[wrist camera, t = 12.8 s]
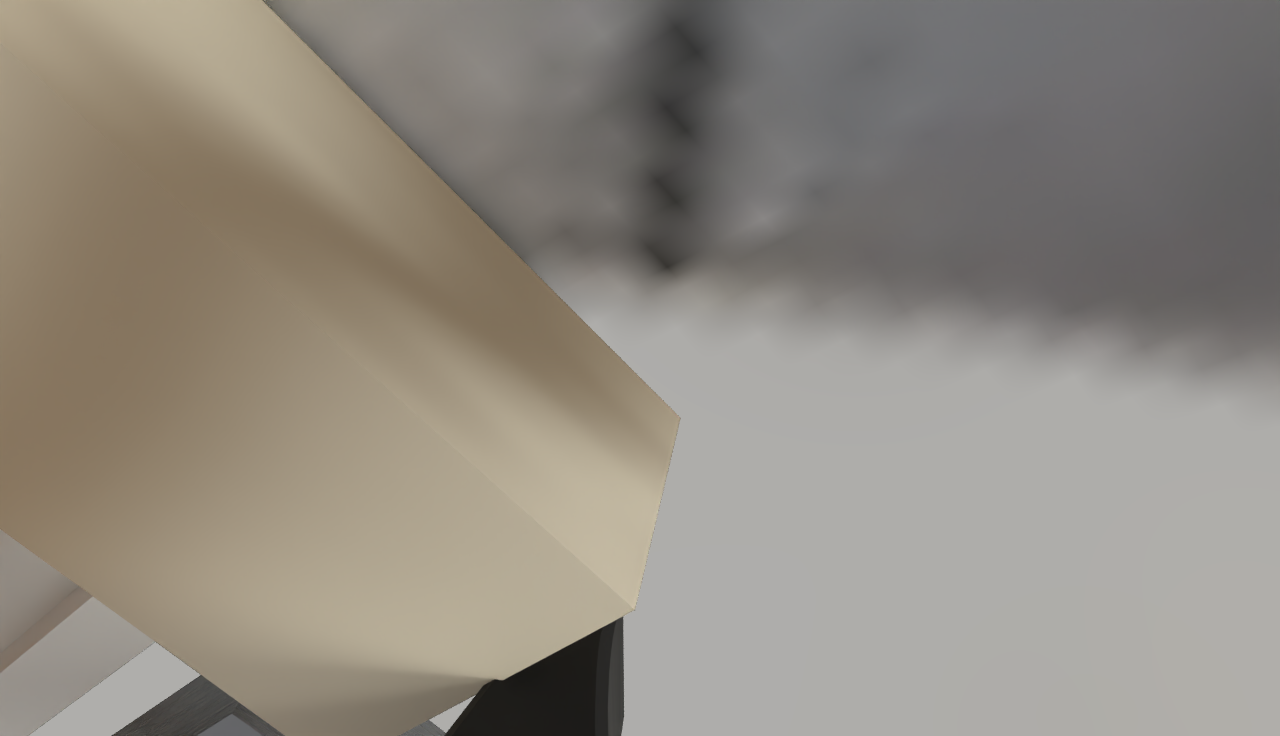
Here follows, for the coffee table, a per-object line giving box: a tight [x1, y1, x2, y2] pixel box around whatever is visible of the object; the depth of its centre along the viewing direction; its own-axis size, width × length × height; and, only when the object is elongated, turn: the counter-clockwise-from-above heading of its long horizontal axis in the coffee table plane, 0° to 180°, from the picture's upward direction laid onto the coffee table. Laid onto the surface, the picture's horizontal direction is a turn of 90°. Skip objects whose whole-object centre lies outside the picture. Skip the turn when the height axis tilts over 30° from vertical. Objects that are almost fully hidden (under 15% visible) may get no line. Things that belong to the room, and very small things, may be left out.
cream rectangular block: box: [0, 0, 680, 736], centre depth 9 cm, size 7×4×2 cm, turn 42°
